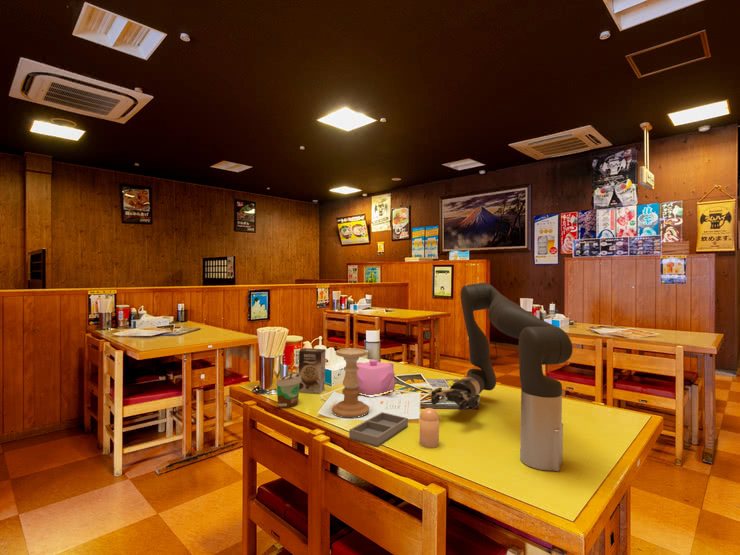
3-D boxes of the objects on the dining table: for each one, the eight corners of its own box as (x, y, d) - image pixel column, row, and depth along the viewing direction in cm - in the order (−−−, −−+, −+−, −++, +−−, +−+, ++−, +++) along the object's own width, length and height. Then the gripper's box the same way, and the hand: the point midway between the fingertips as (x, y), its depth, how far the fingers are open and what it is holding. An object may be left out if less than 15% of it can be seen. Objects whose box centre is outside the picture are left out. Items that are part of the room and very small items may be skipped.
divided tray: (407, 426, 119) (407, 418, 119) (377, 447, 105) (377, 437, 105) (381, 420, 124) (381, 412, 124) (349, 438, 110) (349, 429, 110)
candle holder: (368, 418, 125) (369, 355, 125) (330, 418, 126) (330, 354, 125) (369, 405, 138) (370, 347, 137) (334, 405, 138) (334, 347, 138)
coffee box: (297, 392, 152) (298, 350, 152) (303, 388, 158) (303, 347, 158) (320, 394, 150) (321, 351, 150) (325, 389, 157) (325, 348, 156)
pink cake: (393, 385, 163) (394, 355, 163) (395, 398, 146) (395, 365, 146) (352, 385, 163) (352, 355, 163) (349, 398, 146) (349, 364, 146)
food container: (293, 411, 131) (293, 381, 131) (275, 409, 133) (276, 379, 133) (306, 399, 143) (306, 372, 143) (290, 398, 145) (290, 371, 145)
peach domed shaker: (441, 442, 108) (442, 407, 108) (433, 449, 104) (434, 413, 104) (424, 438, 111) (424, 404, 111) (416, 444, 107) (416, 409, 106)
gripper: (445, 375, 135) (424, 387, 121) (487, 382, 127) (469, 396, 114) (444, 397, 135) (424, 411, 122) (486, 406, 127) (469, 422, 114)
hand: (446, 404), depth 118 cm, fingers open, 8 cm apart
